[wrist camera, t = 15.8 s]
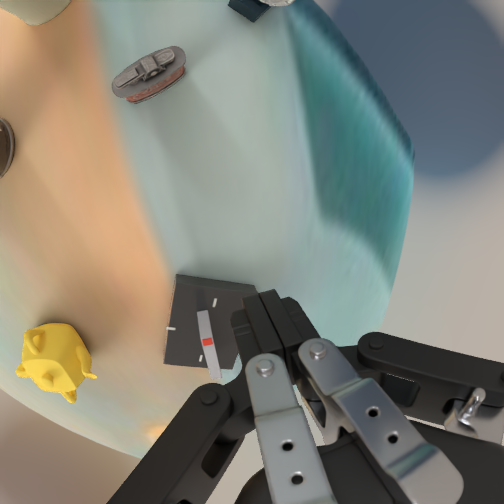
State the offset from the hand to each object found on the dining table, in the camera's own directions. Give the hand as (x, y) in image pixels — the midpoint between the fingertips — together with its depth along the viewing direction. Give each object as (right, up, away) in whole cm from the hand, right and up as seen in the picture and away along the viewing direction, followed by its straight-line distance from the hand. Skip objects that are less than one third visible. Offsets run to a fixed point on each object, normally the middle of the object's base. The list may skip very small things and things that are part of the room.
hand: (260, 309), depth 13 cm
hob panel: (-8, -9, +33) cm, 35 cm away
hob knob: (-7, -10, +30) cm, 33 cm away
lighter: (-12, +23, +17) cm, 31 cm away
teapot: (-33, -13, +28) cm, 45 cm away
